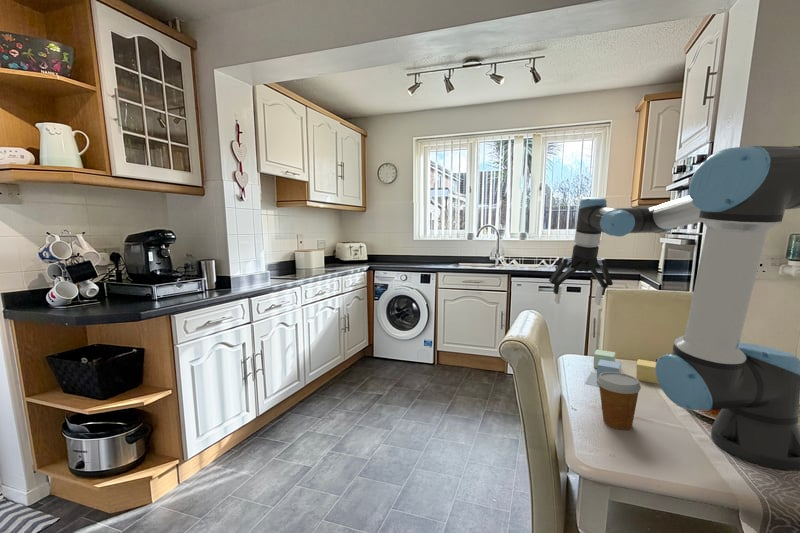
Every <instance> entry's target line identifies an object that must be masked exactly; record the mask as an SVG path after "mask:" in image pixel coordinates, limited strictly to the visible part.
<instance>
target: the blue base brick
mask: <svg viewBox="0 0 800 533" xmlns="http://www.w3.org/2000/svg"><path fill="white" fill-rule="evenodd" d="M603 372H618V373H622V362H618V361H615V362H613V361H607V360H599V362H598V364H597V368H596V373H597V379H598V378H599V375H600V374H601V373H603ZM597 383H598V382H597Z"/></svg>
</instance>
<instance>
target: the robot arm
mask: <svg viewBox="0 0 800 533" xmlns="http://www.w3.org/2000/svg"><path fill="white" fill-rule="evenodd" d="M688 194H689V195H685V196H682V197H680V198H676V199H672V200H669V201H667V202H664V203H663V202H662V203H660V204H657V205H654V206H650V207H622V208H621V207H619V208H617V207H616V208H615V207H608V206H607V199H606V198H604V197H597V196H596V197H595V196H588V197H587V196H584V197H582V198H581V199H580V203H579V206H578V207H579V208H578V212H577V220H576V227H575V228H576V230H575V234H574V244H573V247H572V248H573V249H572V255H571V258H567V257H565V256H562V257H561V261H560V263H559V264H558V266H557V267H556V269H555V270H554V272H553V273H552V274H551V276H550V278H549V279H548V281H549V283H550V284H551V285H553V294H555V296H554V301H555V303H556V304H560V300H561V295H562V287H563V285H561V284H562V283H564V282H565V281H566V280H567V279H568V278H569V277H571V275H573V274H574V273H576V272H585V273H587V272H589V271H590V273H591V274H592V275H593V276H594V278H595V279H596V280H597V282H598V283H599V284H597V285H596V292H595V296H594V303H595V304H596V305H598V306H601V301H602V296H605V293H606V289H607V288H608V287H610V286H613V284H614V282H613V280H612V277H611V275H610V273H609V269H608V266H607V262H608V261H607V260H606V259H605V258H604V257H600V258H598V255H599V249H600V248H599V245H600V242H601V237H602V236H601V235H602V233H604V234H606V235H609V236H614V237H620V238H621V237H625V236H626V235H628V234H637V233H638V234H642V233H643V234H644V233H645V234H647V233H648V234H651V233H652V234H660V233H668V232H671V231H672V230H673V229H674V228H680V227H683V226H688V225H693V224H698V223H703V224H704V225H705V227H706V230H705V233H704V234H705V235H704V238H703V244H702V250H701V255H700V257H699V258H700V259H699V264H698V268H697V274H696V278H695V281H694V282H695V283H694V288H693V293H692V297H691V298H692V299H691V301H690V306H689V313H688V317H687V322H686V327H685V331H684V335H681V336H679V337H677V338H675V339H674V342H673V346H672V351H671V353H666V354H663V355H662V356H659V357H658V358H657V359H658V360H657V362H656V361H655V362H656V367H655V370H656V377H657V380H658V383H659V384H658V385H659V387H660V389H661V390H662V392H663V394H665V396H666V397H667V398H668V399H669V400H670V401H671V402H672V403H674V404H675V405H676V406H677V407H680V408H682V409H684V410H689V411H702V412H707V411H710V410H720V411H719V412H718V415H717V416H716V418H715V419H714V422H713V423H712V425H711V433H710V434H711V436H710V437H711V440H712V442H714V443H715V444H716V445H717V446H718V447H720V448H721V449H722V450H724V451H726V452H728V453H729V454H731V455H734V456H736V457H737V458H740V459H742V460H745V461H747V462H750V463H754V464H756V465H760V466H763V467H768V468H772V469H778V470H784V471H799V470H800V427H799V411H800V358H798V357H797V356H796V355H795V354H792V353H790V352H787V351H783V350H780V349H777V348H772V347H768V346H764V345H758V344H753V343H747V342H740V341H741V337H742V333H743V330H744V325H745V322H746V318H747V314H748V310H749V306H750V302H751V297H752V294H753V290H754V285H755V281H756V277H757V274H758V269H759V266H760V262H761V258H762V254H763V251H764V246H765V242H766V238H767V234H768V232H769V231H770V230H772V229H773V228H775V227H776V226H778V225H780V224H782V223H783V220H784V214H785V212H786V210H794V209H800V145H792V146H791V145H790V146H788V145H787V146H786V145H783V146H781V145H778V146H777V145H774V146H773V145H746V146H735V147H728V148H724V149H721V150H719V151H716V152H714V153H712V154H711V155H710V156H708V157H707V158H706V160H704V161H702V163H700V165H698V167H697V168H696V169H695V171H694V173H693V175H692V177H691V179H690V182H689V186H688ZM570 263H571V264H570ZM569 264H570V265H569ZM597 264H598V265H599V267H600V270H601V273H602V275H603V276H601V275H600V273H599V272H598V270H597V269H596V268H595V266H596V265H597ZM567 265H569V266H568V268H566V267H567ZM564 270H565V271H564ZM602 277H603V278H604V279H603V278H602Z"/></svg>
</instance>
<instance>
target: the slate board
mask: <svg viewBox="0 0 800 533" xmlns="http://www.w3.org/2000/svg"><path fill="white" fill-rule="evenodd" d="M584 385H588V386H593V387H597V388H598V387H599V384H598V383H597V372H594V371H592V372H590V374H589V375H588V377H587V379H586V381H585V383H584Z"/></svg>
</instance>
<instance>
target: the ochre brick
mask: <svg viewBox="0 0 800 533" xmlns="http://www.w3.org/2000/svg"><path fill="white" fill-rule="evenodd" d="M655 367H656V361H654V360H653V361H652V360H646V359H639V358H638V359H637V362H636V372H635V373H636V376H635V378H636V379H638V381H642V382H646V383H647V382H648V383H652V384H658V385H659V383H658V380H657V377H656V370H655Z"/></svg>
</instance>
